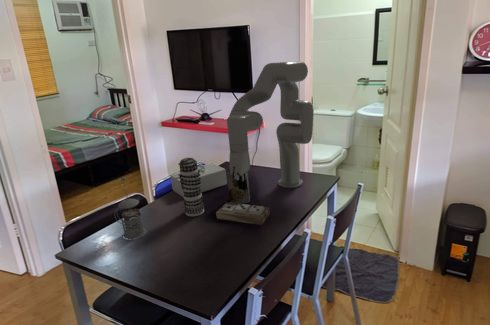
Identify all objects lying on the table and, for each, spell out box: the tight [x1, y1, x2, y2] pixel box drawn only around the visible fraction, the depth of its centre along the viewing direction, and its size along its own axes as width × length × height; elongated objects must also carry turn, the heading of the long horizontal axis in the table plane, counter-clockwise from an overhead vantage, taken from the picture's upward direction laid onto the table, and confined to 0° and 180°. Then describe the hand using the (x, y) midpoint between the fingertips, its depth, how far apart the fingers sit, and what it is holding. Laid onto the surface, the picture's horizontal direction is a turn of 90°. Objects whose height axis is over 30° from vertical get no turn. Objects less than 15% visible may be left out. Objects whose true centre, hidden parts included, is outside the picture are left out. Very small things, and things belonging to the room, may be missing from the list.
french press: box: [113, 176, 148, 239], centre depth 139 cm, size 10×12×25 cm
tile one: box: [221, 204, 237, 212], centre depth 152 cm, size 5×5×3 cm
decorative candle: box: [178, 157, 205, 217], centre depth 153 cm, size 9×9×25 cm
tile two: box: [249, 204, 265, 216], centre depth 146 cm, size 5×5×3 cm
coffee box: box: [226, 166, 251, 204], centre depth 162 cm, size 9×6×16 cm
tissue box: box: [169, 162, 228, 199], centre depth 183 cm, size 14×25×11 cm, turn 124°
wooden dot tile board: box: [215, 202, 271, 226], centre depth 149 cm, size 10×21×3 cm, turn 66°
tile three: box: [235, 203, 251, 214], centre depth 149 cm, size 5×5×3 cm
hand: (242, 188), depth 145 cm, fingers closed
